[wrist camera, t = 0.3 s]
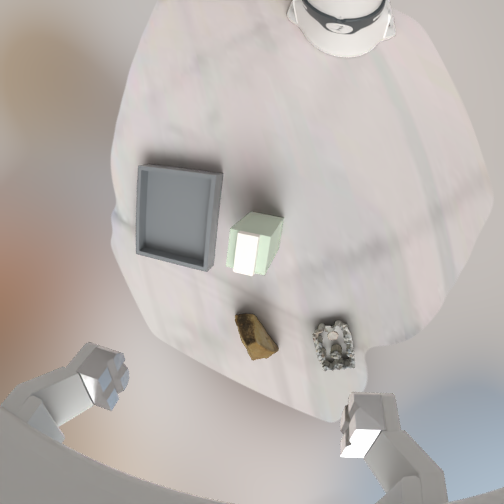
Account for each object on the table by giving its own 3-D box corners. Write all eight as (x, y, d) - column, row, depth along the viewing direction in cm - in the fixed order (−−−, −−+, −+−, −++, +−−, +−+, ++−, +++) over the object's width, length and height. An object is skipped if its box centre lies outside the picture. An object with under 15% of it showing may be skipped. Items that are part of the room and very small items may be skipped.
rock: (291, 358, 62) (283, 321, 58) (260, 382, 57) (249, 346, 53) (257, 338, 70) (247, 303, 66) (228, 359, 66) (215, 324, 62)
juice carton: (251, 211, 56) (227, 230, 44) (283, 217, 55) (269, 239, 43) (246, 242, 58) (223, 269, 46) (278, 249, 57) (262, 278, 45)
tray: (148, 163, 58) (138, 165, 55) (223, 173, 55) (216, 175, 52) (144, 248, 65) (135, 253, 61) (213, 265, 62) (207, 271, 58)
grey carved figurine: (312, 322, 61) (310, 333, 57) (349, 316, 58) (350, 328, 55) (321, 363, 64) (319, 375, 60) (355, 358, 61) (356, 371, 57)
